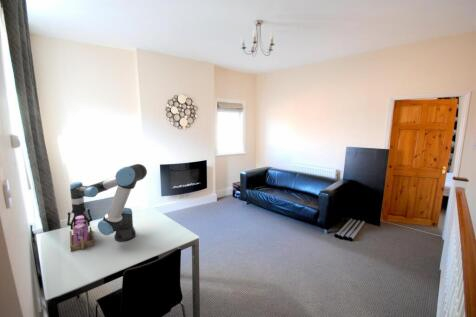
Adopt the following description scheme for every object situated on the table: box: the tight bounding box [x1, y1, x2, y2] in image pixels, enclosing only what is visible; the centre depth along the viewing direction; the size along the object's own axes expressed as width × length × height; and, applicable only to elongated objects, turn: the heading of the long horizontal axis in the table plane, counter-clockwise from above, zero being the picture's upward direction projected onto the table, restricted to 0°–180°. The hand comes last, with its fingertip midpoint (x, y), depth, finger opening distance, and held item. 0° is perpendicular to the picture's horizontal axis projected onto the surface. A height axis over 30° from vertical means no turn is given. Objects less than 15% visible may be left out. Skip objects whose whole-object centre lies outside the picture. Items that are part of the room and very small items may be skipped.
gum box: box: [72, 213, 88, 244], centre depth 172 cm, size 24×8×14 cm, turn 33°
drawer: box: [69, 226, 95, 252], centre depth 172 cm, size 14×29×8 cm, turn 36°
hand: (81, 231), depth 173 cm, fingers closed on gum box, 8 cm apart
